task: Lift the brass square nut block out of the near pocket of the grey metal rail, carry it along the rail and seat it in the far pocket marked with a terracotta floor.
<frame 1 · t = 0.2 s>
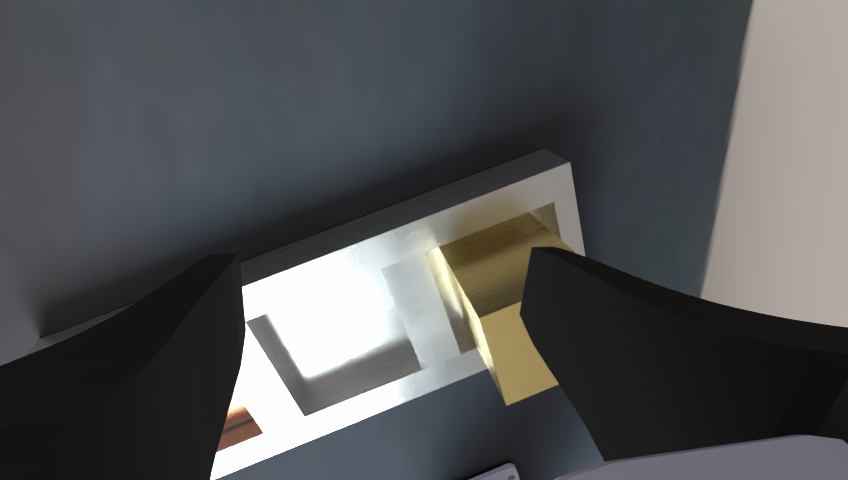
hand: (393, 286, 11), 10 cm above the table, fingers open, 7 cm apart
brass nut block: (493, 267, 23), point 1 cm above the table, touching rail
rail: (337, 316, 23), on the table
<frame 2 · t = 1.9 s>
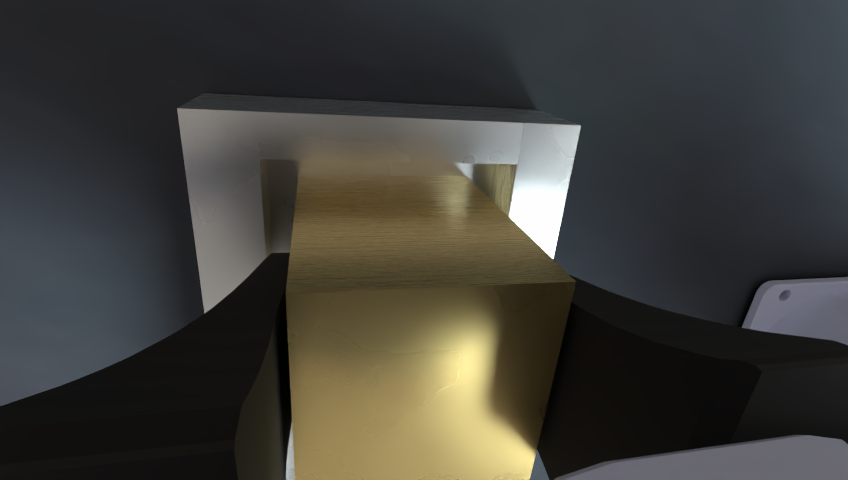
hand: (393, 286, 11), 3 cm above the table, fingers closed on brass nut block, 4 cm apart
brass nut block: (382, 251, 13), point 1 cm above the table, touching gripper, rail
rail: (370, 433, 17), on the table
when the fingers open (4 cm above the table, at t = 5.5 s): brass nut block stays where it is, resting on rail.
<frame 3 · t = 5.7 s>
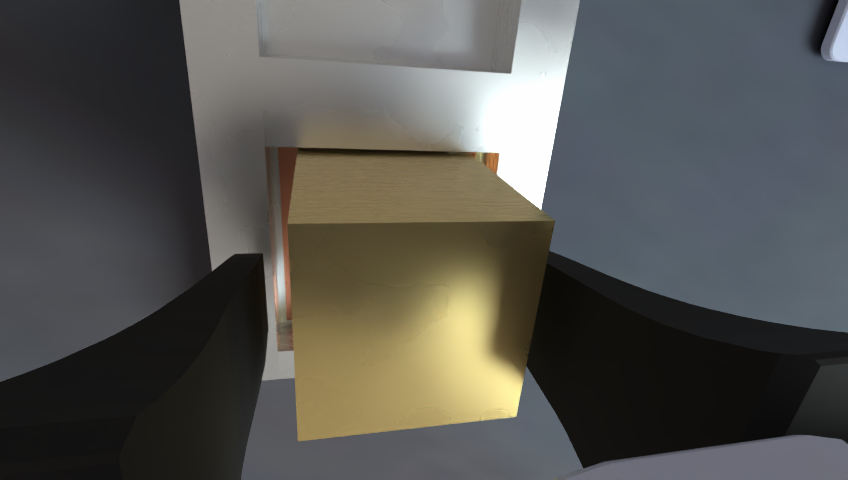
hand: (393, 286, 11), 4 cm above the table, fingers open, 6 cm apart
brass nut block: (379, 217, 14), point 1 cm above the table, touching rail
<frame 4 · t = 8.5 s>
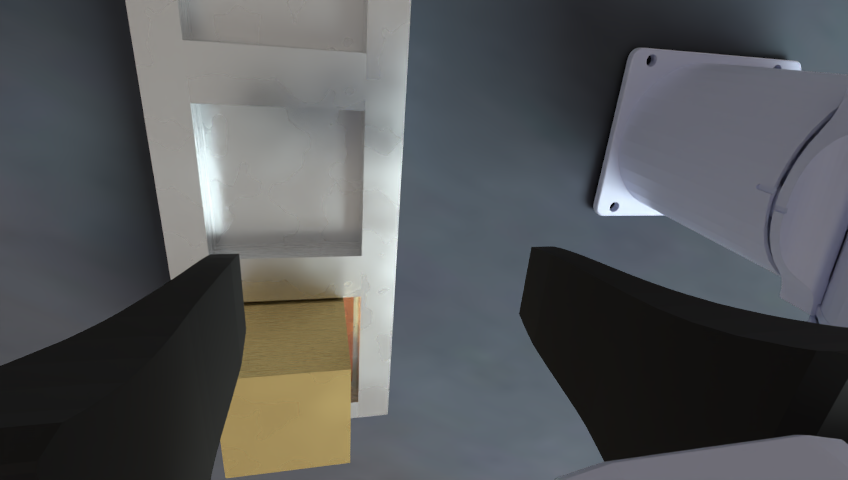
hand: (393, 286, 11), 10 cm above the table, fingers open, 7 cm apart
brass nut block: (293, 328, 22), point 1 cm above the table, touching rail
rail: (288, 170, 20), on the table
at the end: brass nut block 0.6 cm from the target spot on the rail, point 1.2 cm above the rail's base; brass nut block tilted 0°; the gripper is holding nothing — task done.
